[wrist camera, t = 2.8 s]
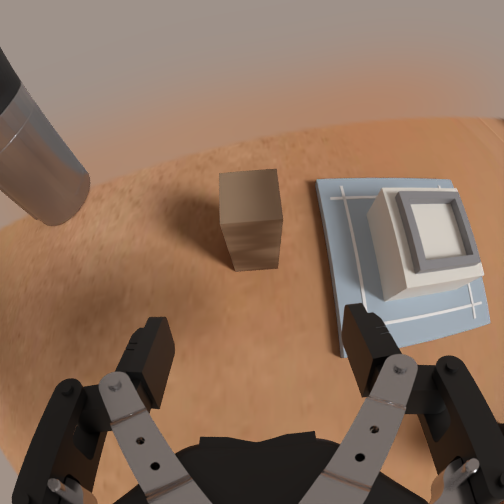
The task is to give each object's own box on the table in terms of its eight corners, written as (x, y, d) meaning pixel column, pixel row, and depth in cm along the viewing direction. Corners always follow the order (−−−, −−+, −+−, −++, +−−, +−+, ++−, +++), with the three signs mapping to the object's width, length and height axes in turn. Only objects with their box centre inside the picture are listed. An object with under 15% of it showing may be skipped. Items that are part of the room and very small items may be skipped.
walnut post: (235, 271, 28) (219, 224, 18) (233, 233, 29) (219, 173, 20) (277, 268, 28) (283, 219, 18) (274, 230, 29) (276, 168, 20)
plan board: (340, 358, 24) (366, 355, 18) (315, 185, 31) (325, 141, 24) (484, 324, 24) (526, 311, 17) (446, 184, 30) (472, 151, 24)
